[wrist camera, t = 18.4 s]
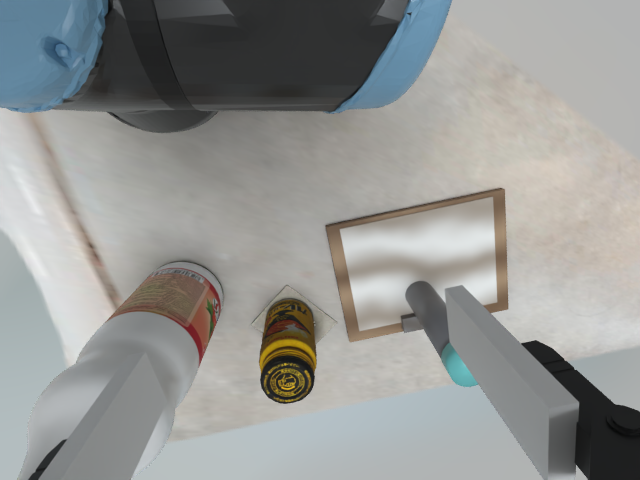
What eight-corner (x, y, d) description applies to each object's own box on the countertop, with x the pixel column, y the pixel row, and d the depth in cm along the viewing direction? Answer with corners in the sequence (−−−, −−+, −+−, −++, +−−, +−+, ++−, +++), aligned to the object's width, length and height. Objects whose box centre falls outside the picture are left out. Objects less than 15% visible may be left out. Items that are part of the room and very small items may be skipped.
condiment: (286, 284, 44) (283, 341, 32) (337, 321, 46) (350, 387, 35) (250, 323, 45) (234, 392, 34) (301, 358, 47) (302, 433, 36)
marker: (404, 282, 43) (450, 353, 30) (434, 278, 43) (494, 348, 30) (404, 309, 45) (449, 389, 31) (434, 305, 45) (491, 383, 31)
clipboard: (325, 225, 42) (326, 230, 40) (500, 188, 41) (510, 191, 40) (348, 338, 47) (351, 347, 45) (504, 306, 47) (513, 313, 45)
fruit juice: (188, 244, 41) (-7, 465, 15) (240, 301, 44) (154, 573, 18) (129, 288, 43) (-147, 563, 16) (183, 340, 45) (23, 649, 19)
